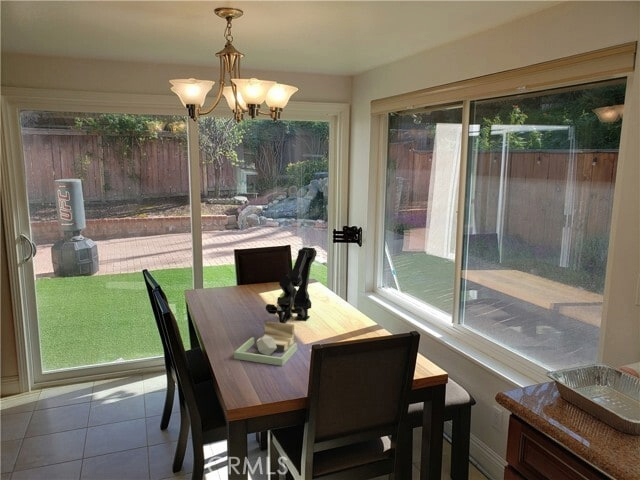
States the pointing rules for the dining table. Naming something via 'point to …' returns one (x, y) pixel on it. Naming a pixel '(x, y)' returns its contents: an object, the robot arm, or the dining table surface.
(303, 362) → the dining table surface
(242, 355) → the fence
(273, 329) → the block
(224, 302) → the dining table surface
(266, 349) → the die
